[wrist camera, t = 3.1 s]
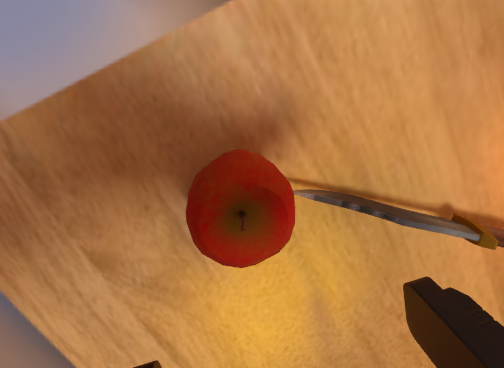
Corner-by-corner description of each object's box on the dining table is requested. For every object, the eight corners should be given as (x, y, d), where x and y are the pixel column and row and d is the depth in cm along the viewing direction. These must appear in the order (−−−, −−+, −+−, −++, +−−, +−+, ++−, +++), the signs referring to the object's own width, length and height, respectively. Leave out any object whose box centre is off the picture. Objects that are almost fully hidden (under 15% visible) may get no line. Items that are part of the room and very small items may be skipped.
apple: (217, 118, 24) (229, 145, 17) (291, 164, 26) (328, 205, 19) (169, 195, 25) (162, 249, 19) (243, 233, 27) (261, 296, 20)
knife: (275, 188, 27) (294, 217, 22) (281, 170, 26) (301, 196, 22) (538, 242, 32) (596, 273, 28) (545, 228, 32) (606, 258, 27)
